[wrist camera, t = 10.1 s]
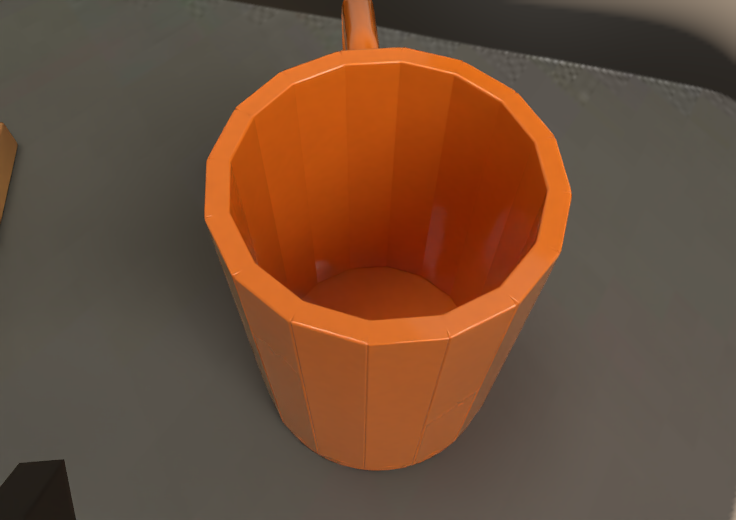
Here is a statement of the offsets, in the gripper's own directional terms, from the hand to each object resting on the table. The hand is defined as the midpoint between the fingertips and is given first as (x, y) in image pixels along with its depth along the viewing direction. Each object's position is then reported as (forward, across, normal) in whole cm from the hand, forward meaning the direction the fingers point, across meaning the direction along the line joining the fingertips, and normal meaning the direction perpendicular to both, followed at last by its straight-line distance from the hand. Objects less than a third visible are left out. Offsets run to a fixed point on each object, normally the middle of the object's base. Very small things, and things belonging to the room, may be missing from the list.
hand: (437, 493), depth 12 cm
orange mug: (+16, 0, -2) cm, 16 cm away
